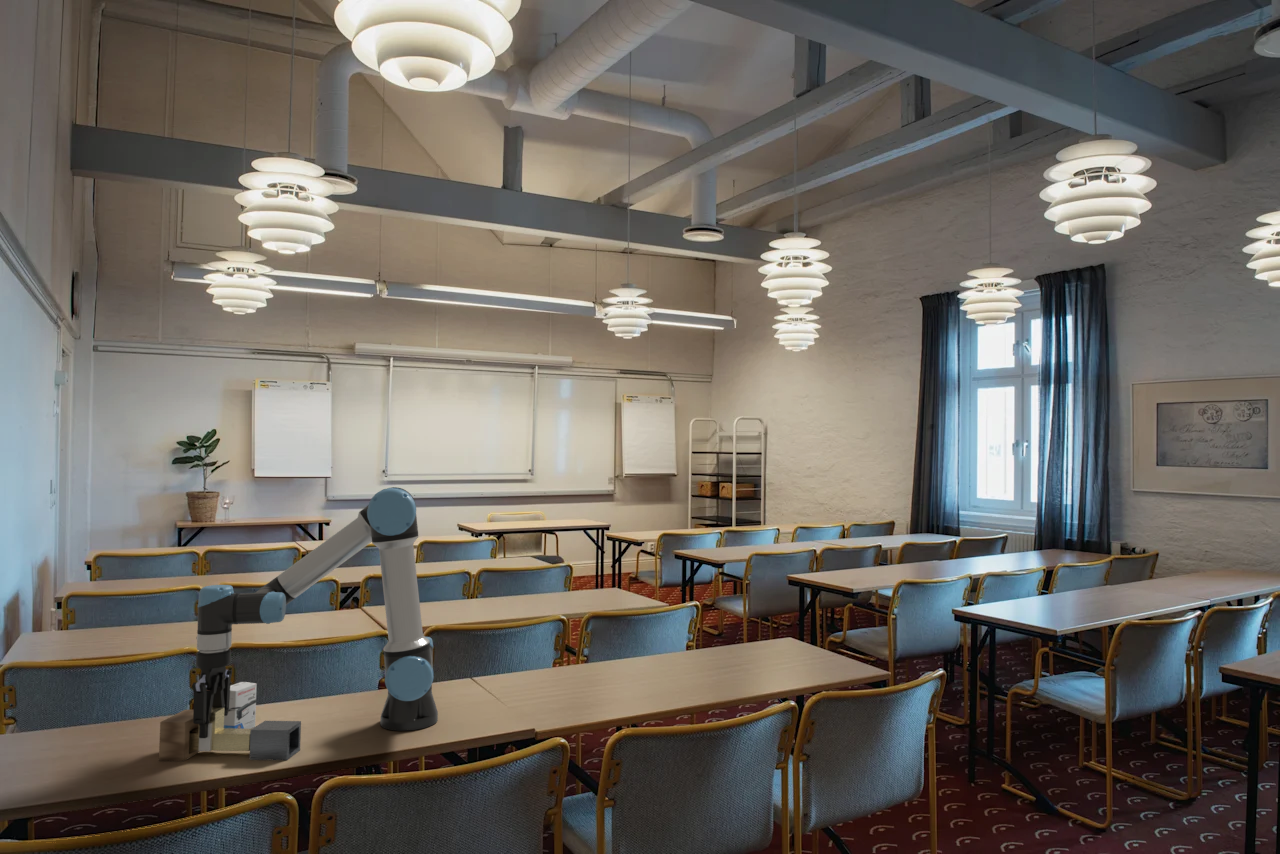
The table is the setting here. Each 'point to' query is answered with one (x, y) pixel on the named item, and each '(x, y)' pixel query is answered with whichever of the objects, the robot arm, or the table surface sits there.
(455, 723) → the table surface
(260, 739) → the sleeve
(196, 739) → the l-shaped notched block
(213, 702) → the robot arm
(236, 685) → the ink box
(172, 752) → the socket
